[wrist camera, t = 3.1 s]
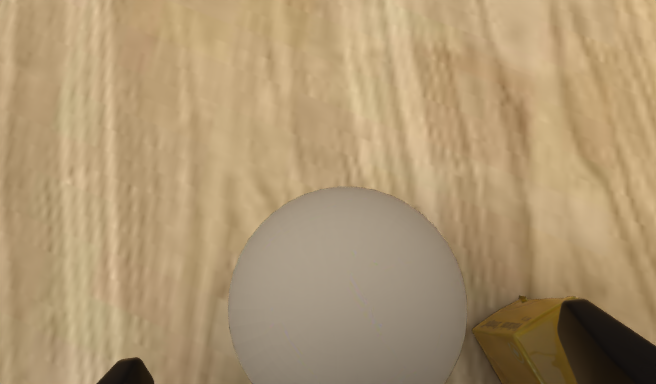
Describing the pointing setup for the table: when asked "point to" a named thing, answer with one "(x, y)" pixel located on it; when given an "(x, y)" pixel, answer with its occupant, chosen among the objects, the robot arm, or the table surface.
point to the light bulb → (347, 294)
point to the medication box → (526, 342)
